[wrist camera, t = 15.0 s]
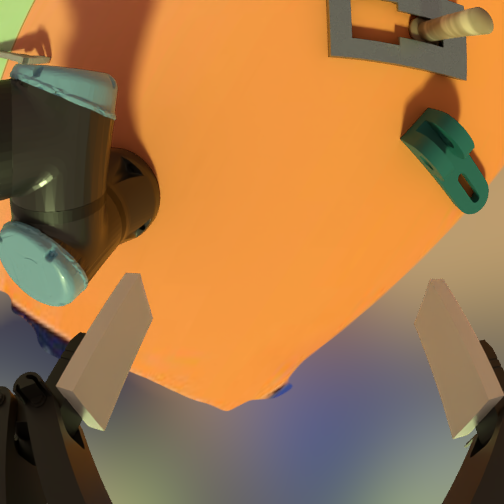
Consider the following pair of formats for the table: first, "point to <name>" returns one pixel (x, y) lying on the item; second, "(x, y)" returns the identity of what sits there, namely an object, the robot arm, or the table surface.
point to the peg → (451, 26)
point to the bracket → (448, 157)
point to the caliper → (24, 58)
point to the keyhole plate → (399, 40)
